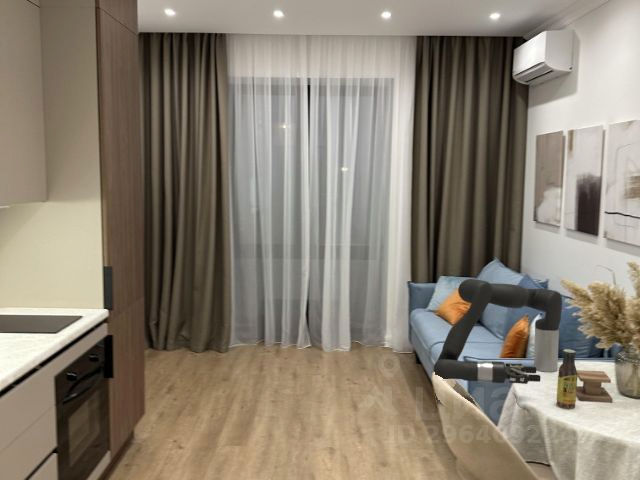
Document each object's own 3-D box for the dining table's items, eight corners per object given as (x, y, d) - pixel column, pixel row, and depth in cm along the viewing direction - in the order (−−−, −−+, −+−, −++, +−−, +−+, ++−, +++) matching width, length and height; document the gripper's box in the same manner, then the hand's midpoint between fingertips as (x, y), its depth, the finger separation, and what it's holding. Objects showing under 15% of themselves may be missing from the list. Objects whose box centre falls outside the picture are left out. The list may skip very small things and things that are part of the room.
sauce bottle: (563, 410, 206) (565, 354, 204) (552, 403, 212) (554, 348, 210) (580, 408, 208) (582, 352, 205) (569, 401, 214) (571, 347, 211)
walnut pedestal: (572, 389, 225) (573, 369, 224) (603, 391, 223) (604, 370, 222) (579, 400, 214) (580, 379, 213) (612, 402, 212) (613, 380, 211)
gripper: (492, 368, 206) (542, 370, 203) (488, 355, 220) (535, 357, 217) (492, 389, 207) (541, 391, 204) (488, 375, 221) (534, 377, 218)
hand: (538, 374), depth 211 cm, fingers open, 8 cm apart
